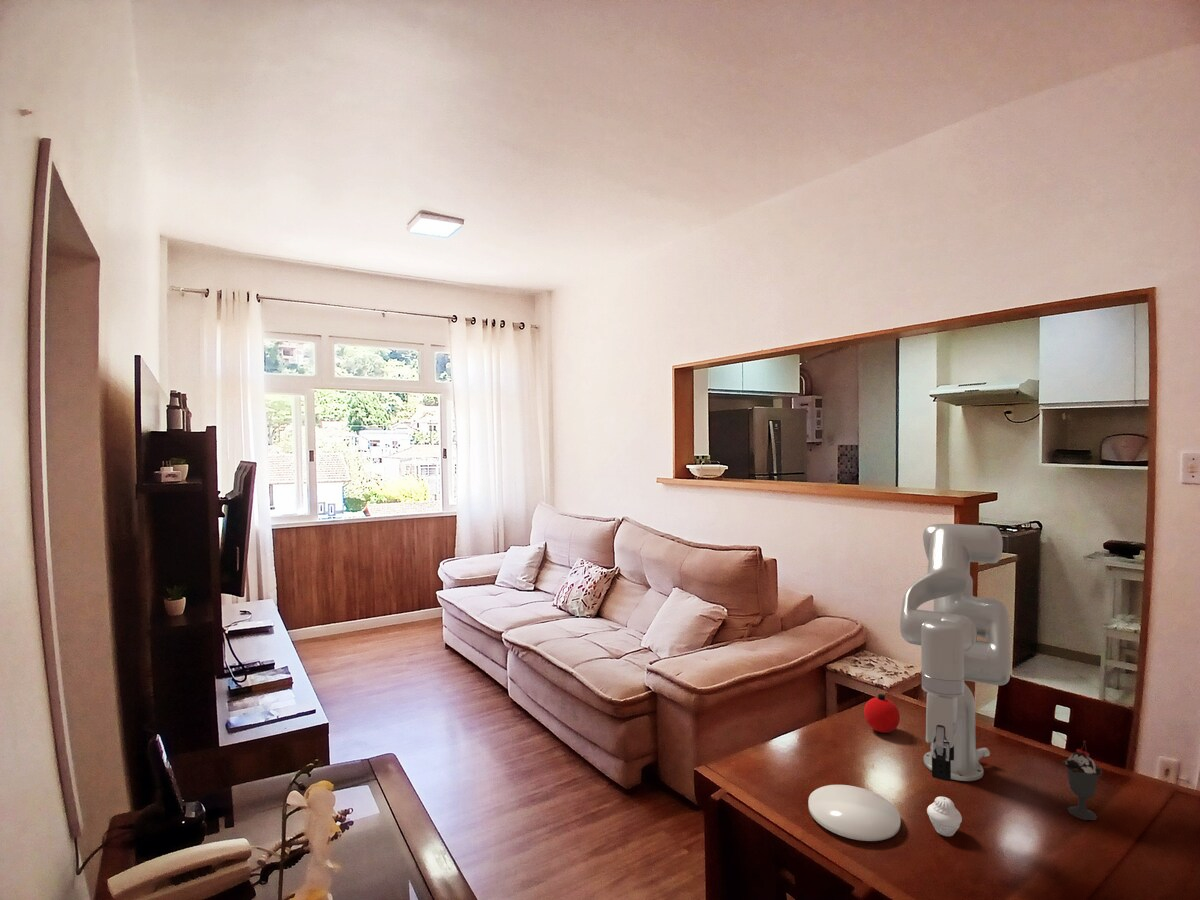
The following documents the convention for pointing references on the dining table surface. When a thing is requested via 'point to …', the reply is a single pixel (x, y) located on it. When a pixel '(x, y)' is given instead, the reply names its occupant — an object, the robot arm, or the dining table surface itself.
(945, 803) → the muffin
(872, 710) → the ornament
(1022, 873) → the dining table surface
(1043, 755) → the dining table surface
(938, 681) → the robot arm
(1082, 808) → the sundae
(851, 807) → the cake plate
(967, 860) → the dining table surface
